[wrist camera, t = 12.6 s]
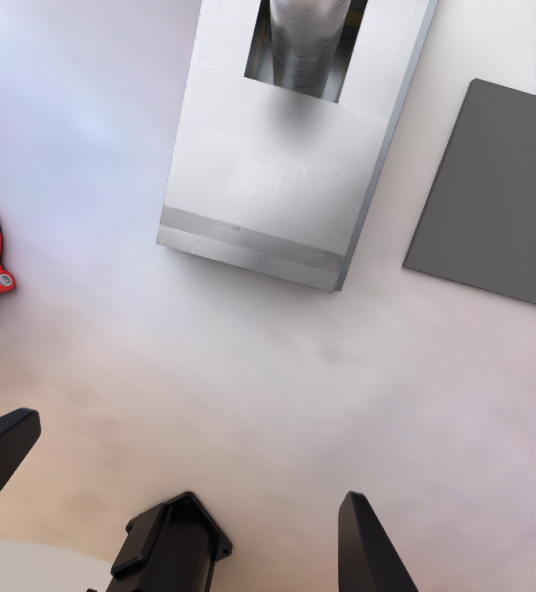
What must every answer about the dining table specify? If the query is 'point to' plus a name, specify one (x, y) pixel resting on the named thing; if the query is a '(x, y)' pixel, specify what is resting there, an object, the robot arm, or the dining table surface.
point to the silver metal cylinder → (305, 42)
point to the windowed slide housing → (286, 141)
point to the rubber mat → (484, 197)
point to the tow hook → (5, 278)
